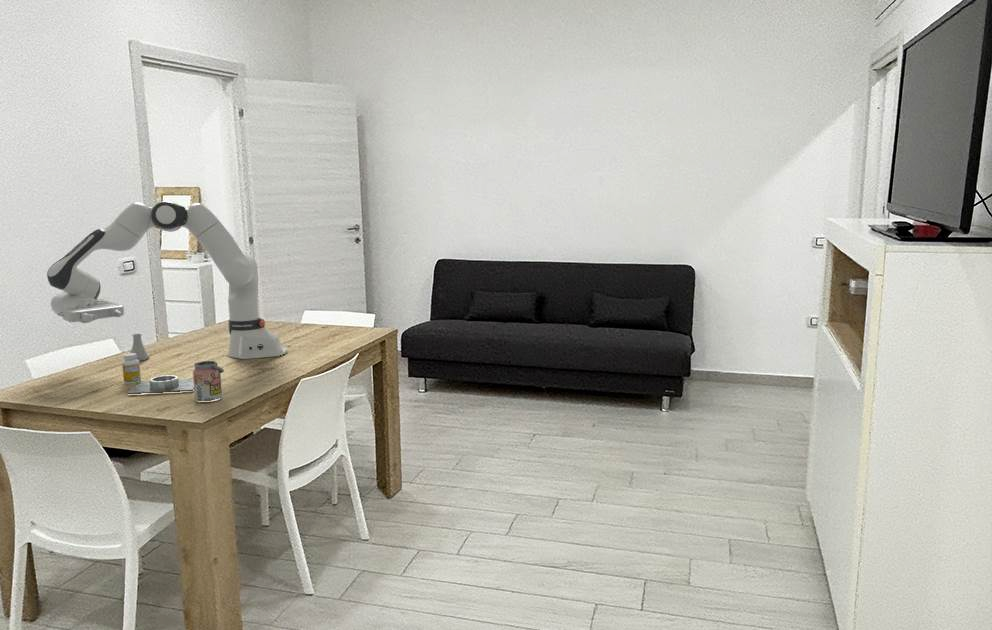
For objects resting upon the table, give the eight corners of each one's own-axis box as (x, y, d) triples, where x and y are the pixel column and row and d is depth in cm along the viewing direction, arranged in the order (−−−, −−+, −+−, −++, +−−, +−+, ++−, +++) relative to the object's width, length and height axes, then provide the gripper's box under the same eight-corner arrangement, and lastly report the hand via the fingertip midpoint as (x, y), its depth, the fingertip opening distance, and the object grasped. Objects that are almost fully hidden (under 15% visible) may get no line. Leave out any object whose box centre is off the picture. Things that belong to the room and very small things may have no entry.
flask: (141, 362, 302) (139, 336, 300) (124, 361, 303) (122, 335, 302) (153, 357, 309) (151, 332, 307) (136, 357, 310) (134, 332, 309)
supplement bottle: (127, 380, 276) (124, 352, 274) (143, 379, 276) (140, 352, 275) (121, 384, 271) (118, 356, 269) (137, 383, 271) (135, 355, 269)
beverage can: (210, 394, 257) (207, 358, 255) (230, 397, 254) (228, 360, 251) (189, 402, 248) (186, 365, 246) (210, 405, 245) (207, 367, 243)
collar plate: (199, 381, 273) (199, 371, 272) (192, 392, 259) (191, 382, 259) (138, 384, 269) (137, 374, 269) (127, 396, 256) (126, 385, 255)
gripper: (54, 304, 274) (77, 310, 267) (110, 298, 292) (132, 304, 284) (55, 322, 276) (77, 329, 268) (110, 315, 293) (133, 321, 286)
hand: (106, 316), depth 277 cm, fingers open, 8 cm apart
